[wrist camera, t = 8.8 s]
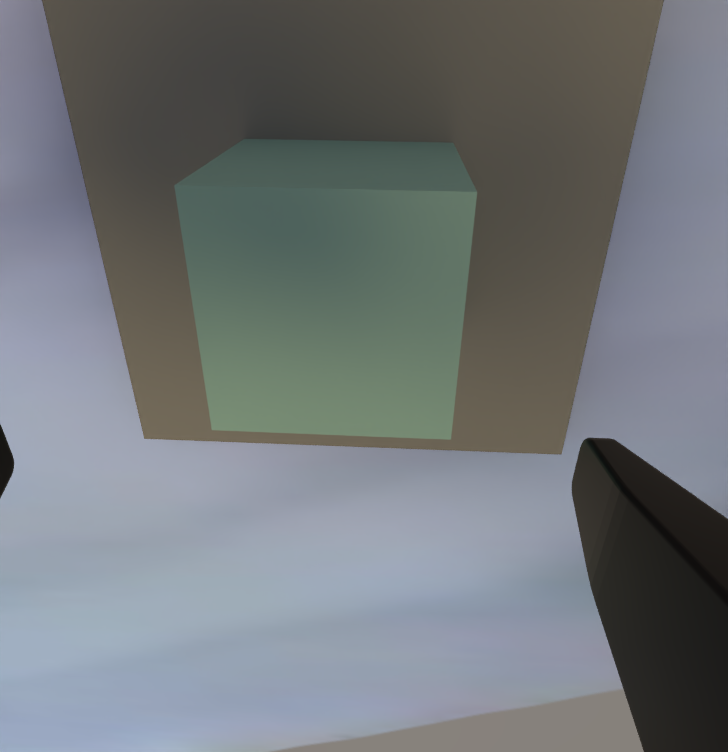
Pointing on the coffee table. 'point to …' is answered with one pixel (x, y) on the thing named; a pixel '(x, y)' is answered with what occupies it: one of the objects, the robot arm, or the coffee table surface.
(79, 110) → the mat
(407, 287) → the cube
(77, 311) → the coffee table surface
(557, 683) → the coffee table surface
